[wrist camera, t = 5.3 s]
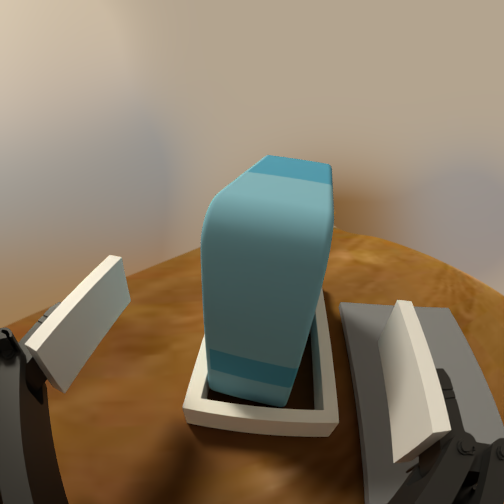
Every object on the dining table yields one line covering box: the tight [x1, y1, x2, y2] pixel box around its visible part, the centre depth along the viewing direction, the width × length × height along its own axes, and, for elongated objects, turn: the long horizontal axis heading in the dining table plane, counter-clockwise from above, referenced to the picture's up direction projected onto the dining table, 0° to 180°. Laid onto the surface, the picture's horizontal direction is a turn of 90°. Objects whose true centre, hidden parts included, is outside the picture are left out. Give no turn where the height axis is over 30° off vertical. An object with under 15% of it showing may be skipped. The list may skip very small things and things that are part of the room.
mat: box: [339, 302, 504, 504], centre depth 16 cm, size 12×17×1 cm
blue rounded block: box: [201, 155, 334, 407], centre depth 17 cm, size 12×4×12 cm, turn 165°
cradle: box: [182, 287, 339, 437], centre depth 19 cm, size 8×15×2 cm, turn 174°
